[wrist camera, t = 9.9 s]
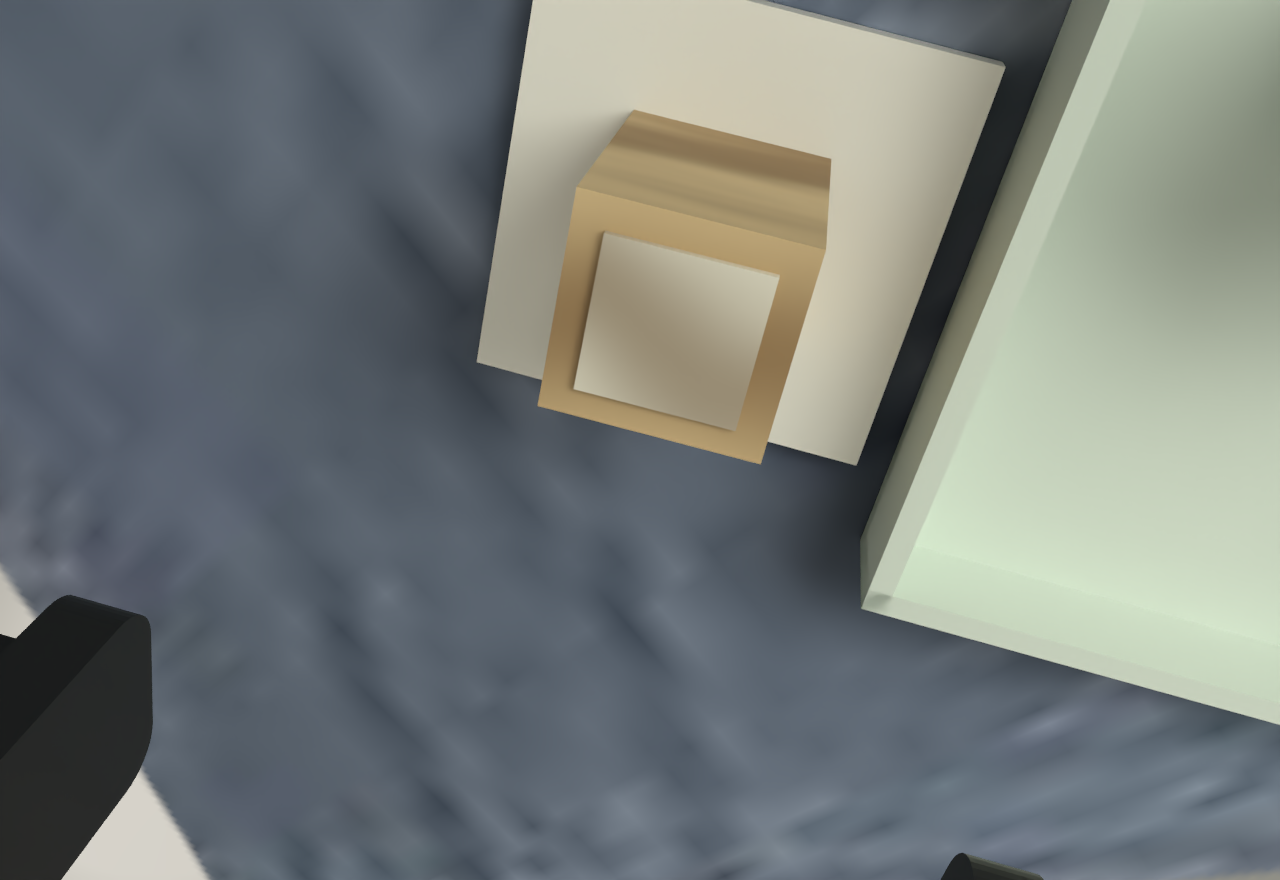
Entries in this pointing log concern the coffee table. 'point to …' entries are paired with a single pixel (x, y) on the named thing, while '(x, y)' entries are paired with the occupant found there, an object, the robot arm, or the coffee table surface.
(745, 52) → the ceramic tile
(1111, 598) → the parts tray
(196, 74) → the coffee table surface
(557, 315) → the oak box
